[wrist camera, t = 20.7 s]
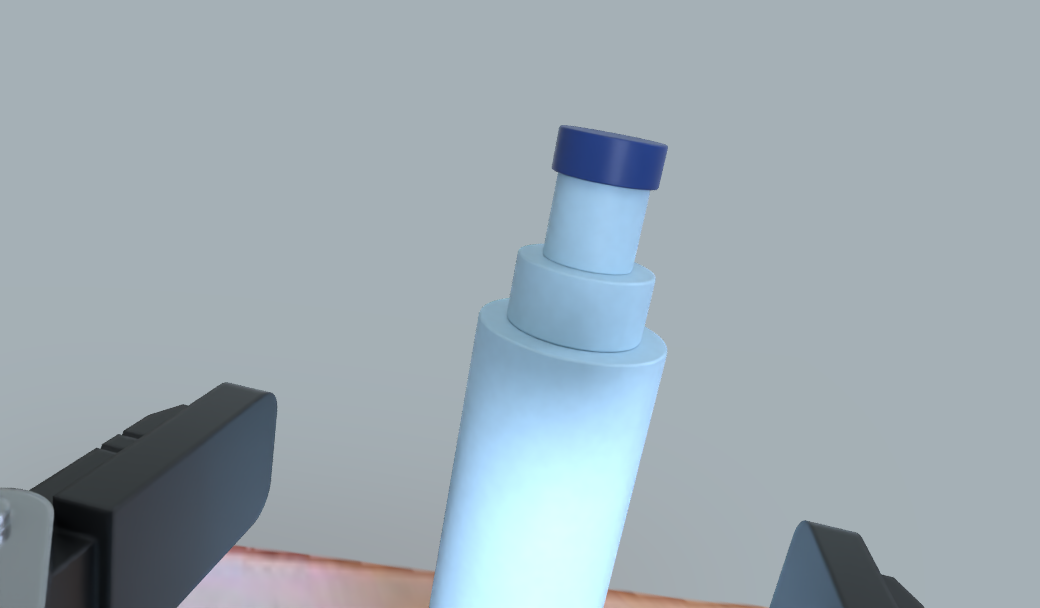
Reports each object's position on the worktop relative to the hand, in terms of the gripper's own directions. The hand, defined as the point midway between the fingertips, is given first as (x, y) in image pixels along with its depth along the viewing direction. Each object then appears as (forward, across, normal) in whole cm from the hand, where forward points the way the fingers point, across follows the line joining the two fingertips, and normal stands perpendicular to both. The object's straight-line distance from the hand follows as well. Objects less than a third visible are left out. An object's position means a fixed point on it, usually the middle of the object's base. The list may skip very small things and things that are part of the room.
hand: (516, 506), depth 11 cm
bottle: (+11, 0, +14) cm, 18 cm away
